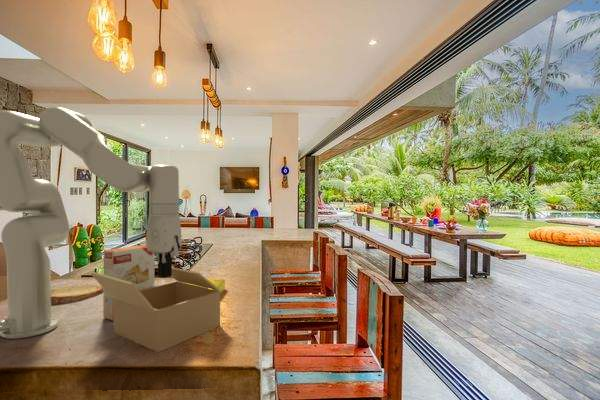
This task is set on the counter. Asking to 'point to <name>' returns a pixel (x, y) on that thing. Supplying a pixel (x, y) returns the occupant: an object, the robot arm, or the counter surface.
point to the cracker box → (128, 271)
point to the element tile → (217, 284)
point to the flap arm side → (123, 291)
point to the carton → (168, 315)
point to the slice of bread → (74, 293)
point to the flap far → (191, 278)
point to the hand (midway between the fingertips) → (164, 276)
